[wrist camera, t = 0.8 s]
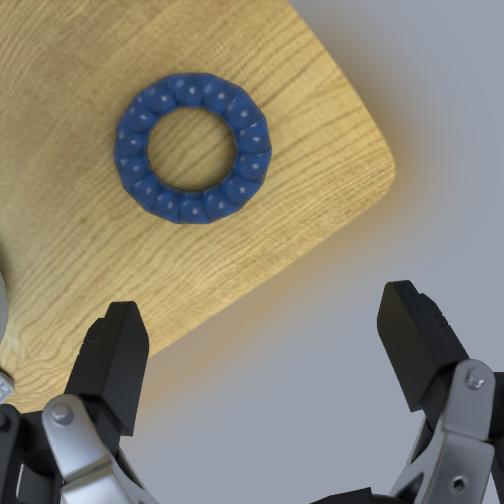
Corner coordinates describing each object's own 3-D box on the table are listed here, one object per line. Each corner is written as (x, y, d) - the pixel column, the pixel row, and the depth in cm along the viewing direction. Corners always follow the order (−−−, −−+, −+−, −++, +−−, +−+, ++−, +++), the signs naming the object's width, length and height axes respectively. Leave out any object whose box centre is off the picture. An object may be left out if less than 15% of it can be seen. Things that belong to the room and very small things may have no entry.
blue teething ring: (204, 41, 17) (200, 38, 15) (298, 161, 21) (305, 170, 19) (92, 141, 19) (79, 149, 18) (186, 241, 24) (183, 257, 22)
